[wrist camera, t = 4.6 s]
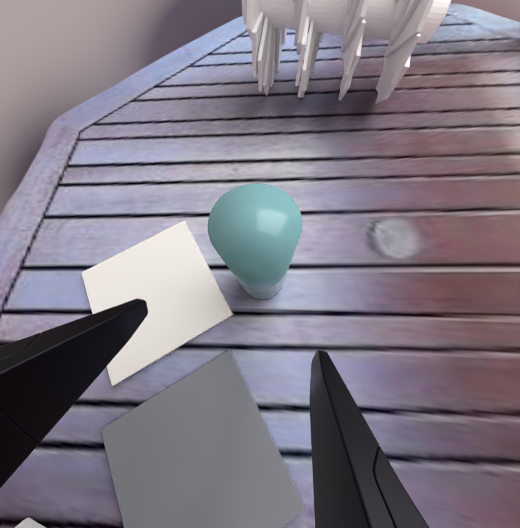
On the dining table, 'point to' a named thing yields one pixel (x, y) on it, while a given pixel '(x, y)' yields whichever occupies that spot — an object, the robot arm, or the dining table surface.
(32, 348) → the robot arm
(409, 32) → the spiral staircase
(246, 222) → the teal cylinder
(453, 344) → the dining table surface
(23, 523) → the supplement box
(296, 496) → the slate tile
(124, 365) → the pale tile
